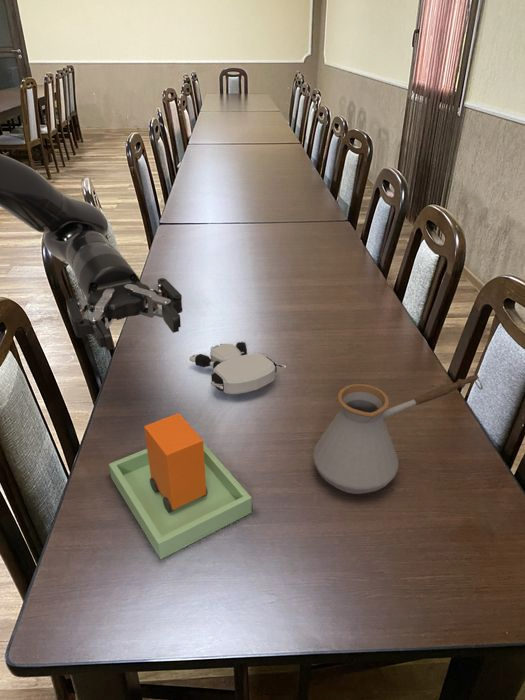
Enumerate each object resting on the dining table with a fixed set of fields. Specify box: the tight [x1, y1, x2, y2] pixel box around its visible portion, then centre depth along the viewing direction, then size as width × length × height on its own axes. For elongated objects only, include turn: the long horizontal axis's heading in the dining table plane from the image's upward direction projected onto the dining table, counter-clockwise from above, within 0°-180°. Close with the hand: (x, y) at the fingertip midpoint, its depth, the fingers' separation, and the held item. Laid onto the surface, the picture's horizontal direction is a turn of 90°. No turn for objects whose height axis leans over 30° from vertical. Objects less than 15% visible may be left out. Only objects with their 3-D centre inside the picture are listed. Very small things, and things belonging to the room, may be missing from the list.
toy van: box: [143, 412, 208, 513], centre depth 68 cm, size 7×5×10 cm
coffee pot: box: [312, 374, 484, 495], centre depth 71 cm, size 21×12×15 cm, turn 98°
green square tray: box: [108, 442, 253, 560], centre depth 70 cm, size 16×13×3 cm
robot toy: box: [188, 341, 287, 395], centre depth 93 cm, size 12×4×15 cm
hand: (143, 334), depth 66 cm, fingers open, 8 cm apart
